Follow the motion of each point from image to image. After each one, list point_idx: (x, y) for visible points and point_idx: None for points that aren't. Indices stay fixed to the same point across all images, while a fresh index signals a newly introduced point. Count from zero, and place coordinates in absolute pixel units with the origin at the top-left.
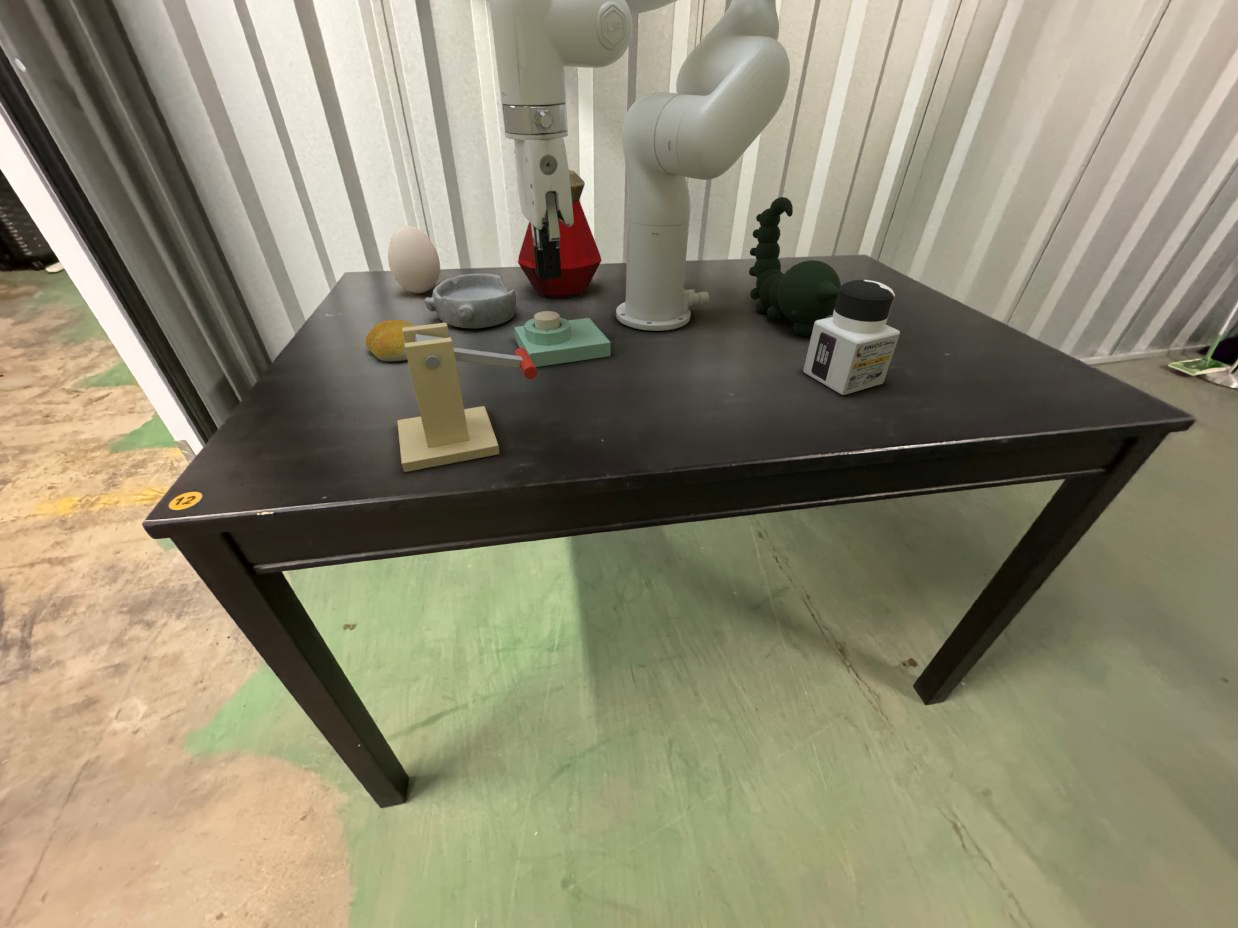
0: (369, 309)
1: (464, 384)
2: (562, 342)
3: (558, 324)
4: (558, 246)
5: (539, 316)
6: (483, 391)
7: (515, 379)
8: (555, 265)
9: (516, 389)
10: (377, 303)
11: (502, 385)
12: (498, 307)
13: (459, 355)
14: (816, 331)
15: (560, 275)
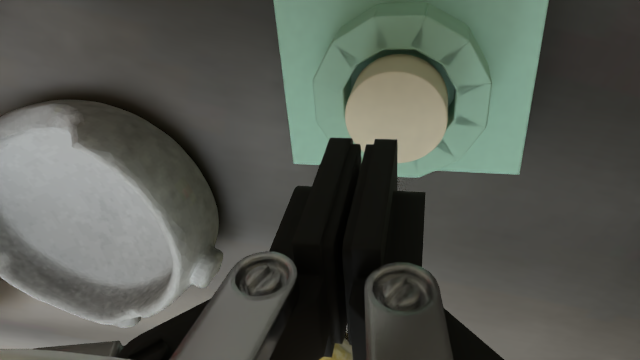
0: None
1: (525, 297)
2: (482, 52)
3: (430, 71)
4: (435, 289)
5: None
6: (587, 274)
7: (563, 199)
8: (421, 216)
9: (626, 211)
10: (50, 339)
11: (580, 234)
12: (176, 191)
13: None
14: None
15: (396, 144)
